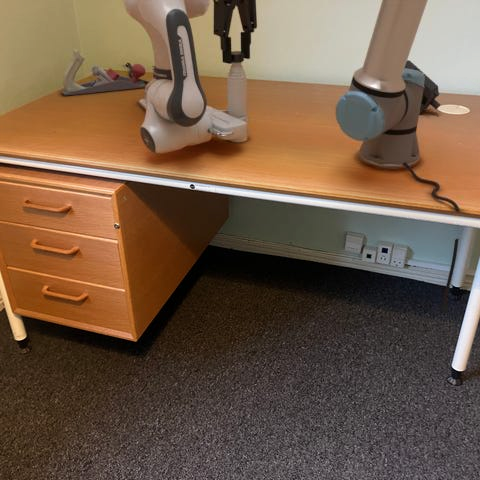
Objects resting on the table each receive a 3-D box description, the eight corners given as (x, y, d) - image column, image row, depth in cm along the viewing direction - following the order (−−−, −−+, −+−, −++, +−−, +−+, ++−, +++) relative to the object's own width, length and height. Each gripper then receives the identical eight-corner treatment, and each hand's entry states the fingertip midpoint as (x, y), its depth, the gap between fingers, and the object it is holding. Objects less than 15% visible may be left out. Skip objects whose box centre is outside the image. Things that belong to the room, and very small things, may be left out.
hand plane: (62, 90, 197) (53, 48, 189) (145, 82, 205) (140, 41, 197) (62, 96, 191) (54, 53, 184) (148, 87, 199) (143, 45, 191)
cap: (245, 59, 143) (245, 51, 141) (241, 63, 139) (241, 54, 138) (231, 58, 144) (231, 50, 143) (227, 62, 140) (226, 54, 139)
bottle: (245, 134, 156) (244, 52, 143) (249, 141, 151) (248, 57, 139) (227, 136, 155) (224, 53, 143) (230, 143, 150) (228, 58, 138)
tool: (378, 91, 179) (405, 54, 169) (421, 128, 175) (451, 93, 164) (370, 95, 176) (396, 58, 165) (413, 134, 171) (443, 98, 161)
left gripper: (220, 125, 134) (263, 114, 141) (178, 105, 148) (219, 96, 155) (221, 149, 138) (263, 136, 145) (180, 127, 152) (220, 117, 159)
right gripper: (250, -41, 137) (251, 52, 149) (194, -35, 126) (200, 64, 138) (272, -40, 133) (271, 56, 145) (216, -34, 121) (219, 69, 133)
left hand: (240, 115), depth 150 cm, fingers closed on bottle, 5 cm apart
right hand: (236, 60), depth 141 cm, fingers open, 6 cm apart
